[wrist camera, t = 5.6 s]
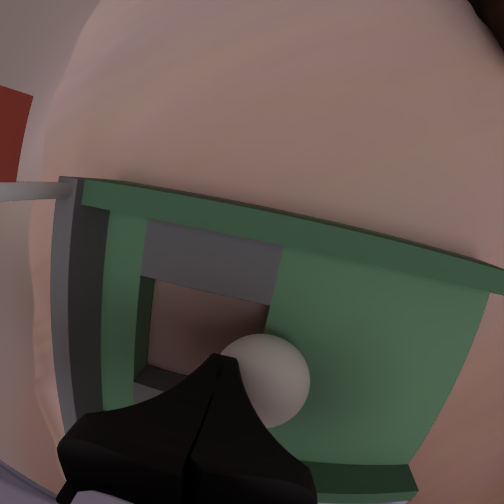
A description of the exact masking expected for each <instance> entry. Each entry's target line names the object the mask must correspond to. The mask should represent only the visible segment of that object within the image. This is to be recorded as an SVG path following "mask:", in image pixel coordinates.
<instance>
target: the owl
mask: <svg viewBox="0 0 504 504" xmlns="http://www.w3.org/2000/svg"><path fill="white" fill-rule="evenodd" d="M468 1H469V2H470V3H471V5H472V6H473V8H474V10H475V13H476V14H477V15H478V17H479V18H480V19H481V20H482V21H483V22H484V23H485V24H486V25H487V26H488V28H489V29H490V30H491V31H492V33H493V34H494V36H495V37H496V39H497V40H498V42H499V43H500V45H501V47H502V48H503V50H504V0H468Z"/></svg>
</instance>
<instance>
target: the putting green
mask: <svg viewBox="0 0 504 504" xmlns="http://www.w3.org/2000/svg"><path fill="white" fill-rule="evenodd" d="M32 100H33V96H31V95H28V94H25V93H22V92H19V91H16V90H13V89H10V88H7V87H3V86H0V202H4V201H19V200H37V199H56V203H55V212H54V222H53V234H52V249H51V278H50V301H51V329H52V344H53V356H54V366H55V375H56V383H57V390H58V397H59V403H60V409H61V415H62V420H63V425H64V430H65V434H66V433H67V432H68V430H69V429H70V428H71V427H72V426H73V425H74V423H75V422H76V421H77V420H79V419H80V418H81V417H82V416H83V415H84V414H85V413H94V412H102V411H109V410H115V409H119V408H124V407H128V406H131V405H134V404H138V403H140V402H143V401H146V400H148V399H151V398H153V397H155V396H157V395H159V394H161V393H163V392H165V391H167V390H168V389H170V388H172V387H173V386H175V385H176V384H178V383H179V382H181V381H182V380H184V379H185V378H186V376H183V375H179V374H176V373H172V372H169V371H165V370H162V369H159V368H155V367H152V366H149V365H147V353H148V340H149V328H150V317H151V307H152V297H153V288H154V280H155V279H157V280H161V281H165V282H169V283H173V284H177V285H181V286H185V287H189V288H193V289H198V290H202V291H206V292H210V293H215V294H219V295H223V296H228V297H232V298H237V299H241V300H246V301H250V302H255V303H260V304H264V305H269V306H268V310H267V314H266V319H265V323H264V327H263V332H262V334H269V335H274V336H277V337H280V338H282V339H285V340H286V341H288V342H289V343H291V344H292V345H293V346H295V347H296V348H297V349H298V350H299V352H300V353H301V354H302V356H303V357H304V359H305V361H306V363H307V366H308V369H309V373H310V389H309V393H308V396H307V399H306V401H305V403H304V405H303V406H302V408H301V409H300V411H299V412H298V413H297V414H296V415H295V416H294V417H292V418H291V419H290V420H288V421H287V422H285V423H283V424H281V425H279V426H275V427H272V428H267V429H268V431H269V432H270V433H271V434H272V435H273V437H274V438H275V439H276V440H277V441H278V442H279V443H280V444H281V445H282V446H283V447H284V448H285V449H286V450H287V451H288V452H289V453H290V454H292V455H293V456H294V457H295V458H297V459H298V460H299V461H301V462H302V463H303V464H305V465H306V466H307V467H309V469H310V471H311V474H312V477H313V480H314V484H315V487H316V491H317V502H318V503H334V504H366V503H387V502H401V501H411V499H412V498H413V497H414V496H415V495H416V493H417V492H418V488H417V485H416V483H415V480H414V478H413V475H412V473H411V470H410V468H409V465H408V464H409V462H410V461H411V459H412V458H413V456H414V455H415V453H416V452H417V450H418V448H419V447H420V445H421V444H422V442H423V440H424V439H425V437H426V436H427V434H428V432H429V431H430V429H431V427H432V425H433V424H434V422H435V420H436V418H437V417H438V415H439V413H440V411H441V409H442V407H443V405H444V404H445V402H446V400H447V398H448V396H449V394H450V392H451V390H452V388H453V386H454V384H455V382H456V380H457V377H458V375H459V373H460V371H461V369H462V366H463V364H464V362H465V360H466V357H467V355H468V353H469V350H470V348H471V345H472V343H473V340H474V338H475V335H476V332H477V330H478V327H479V324H480V322H481V319H482V316H483V313H484V310H485V307H486V304H487V301H488V298H489V294H490V292H491V293H495V294H499V295H503V296H504V269H502V268H499V267H497V266H494V265H491V264H488V263H486V262H483V261H480V260H477V259H474V258H471V257H467V256H464V255H460V254H457V253H453V252H450V251H446V250H442V249H439V248H435V247H431V246H428V245H424V244H420V243H417V242H413V241H409V240H405V239H401V238H397V237H393V236H390V235H386V234H382V233H378V232H374V231H370V230H365V229H361V228H357V227H353V226H349V225H345V224H340V223H336V222H332V221H327V220H323V219H319V218H314V217H310V216H305V215H301V214H296V213H292V212H287V211H282V210H278V209H273V208H268V207H263V206H258V205H253V204H248V203H243V202H238V201H233V200H228V199H223V198H218V197H213V196H207V195H202V194H196V193H191V192H185V191H180V190H174V189H168V188H162V187H156V186H150V185H144V184H138V183H132V182H125V181H119V180H108V179H95V178H81V177H65V176H59V181H58V182H16V178H17V172H18V165H19V159H20V153H21V148H22V142H23V137H24V132H25V128H26V123H27V118H28V115H29V111H30V107H31V103H32Z"/></svg>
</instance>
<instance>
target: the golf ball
mask: <svg viewBox="0 0 504 504" xmlns="http://www.w3.org/2000/svg"><path fill="white" fill-rule="evenodd" d="M220 355H225V356H230V357H234V358H237V360H238V362H239V369H240V374H241V378H242V381H243V384H244V387H245V390H246V392H247V395H248V397H249V399H250V401H251V404H252V406H253V408H254V409H255V411H256V413H257V415H258V416H259V418H260V419H261V421H262V422H263V424H264V425H265V427H266V428H272V427H275V426H279V425H281V424H283V423H285V422H287V421H288V420H290V419H291V418H292V417H294V416H295V415H296V414H297V413H298V412H299V411H300V409H301V408H302V406H303V405H304V403H305V401H306V399H307V396H308V393H309V389H310V373H309V369H308V366H307V363H306V361H305V359H304V357H303V356H302V354H301V353H300V352H299V350H298V349H297V348H296V347H295V346H293V345H292V344H291V343H289V342H288V341H286V340H285V339H282V338H280V337H277V336H274V335H269V334H252V335H248V336H244V337H241V338H239V339H237V340H235V341H234V342H232V343H231V344H229V345H228V346H227V347H226V348H225V349H224V350H223V351H222V352H221V354H220Z"/></svg>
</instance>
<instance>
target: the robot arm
mask: <svg viewBox="0 0 504 504" xmlns="http://www.w3.org/2000/svg"><path fill="white" fill-rule="evenodd" d="M57 453H58V458H59V461H60V464H61V466H62V469H63V472H64V475H65V478H66V480H67V481H66V483H65V484H64V486H63V488H62V489H61V490H60V492H59V494H58V495H57V494H55V493H53V492H52V491H49V490H48V489H46V488H44V487H43V486H41V485H39V484H37V483H36V482H34V481H32V480H31V479H29V478H27V477H26V476H24V475H23V474H21V473H19V472H18V471H16V470H15V469H13V468H12V467H10V466H9V465H7V464H6V463H4V462H3V461H2V460H0V504H334V503H318V502H317V491H316V487H315V484H314V480H313V477H312V474H311V471H310V469H309V467H307V466H306V465H305V464H303V463H302V462H301V461H299V460H298V459H297V458H295V457H294V456H293V455H292V454H290V453H289V452H288V451H287V450H286V449H285V448H284V447H283V446H282V445H281V444H280V443H279V442H278V441H277V440H276V439H275V438H274V437H273V435H272V434H271V433H270V432H269V431H268V429H267V428H266V427H265V425H264V424H263V422H262V421H261V419H260V418H259V416H258V415H257V413H256V411H255V409H254V408H253V406H252V404H251V401H250V399H249V397H248V395H247V392H246V390H245V387H244V384H243V381H242V378H241V374H240V369H239V362H238V360H237V358H234V357H230V356H225V355H220V354H216V353H213V354H212V355H210V356H209V358H208V359H207V360H206V361H205V362H204V363H203V364H202V365H201V366H200V367H198V368H197V369H196V370H195V371H194V372H193V373H191V374H190V375H189V376H188V377H186V378H185V379H184V380H182V381H181V382H179V383H178V384H176V385H175V386H173V387H172V388H170V389H168V390H167V391H165V392H163V393H161V394H159V395H157V396H155V397H153V398H151V399H148V400H146V401H143V402H140V403H138V404H134V405H131V406H128V407H124V408H119V409H115V410H109V411H102V412H94V413H85V414H84V415H83V416H82V417H81V418H80V419H79V420H77V421H76V422H75V423H74V425H73V426H72V427H71V428H70V429H69V430H68V432H67V433H66V434H65V436H64V437H63V438H62V439H61V441H60V442H59V444H58V447H57ZM406 502H407V501H401V502H387V503H366V504H405V503H406Z"/></svg>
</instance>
